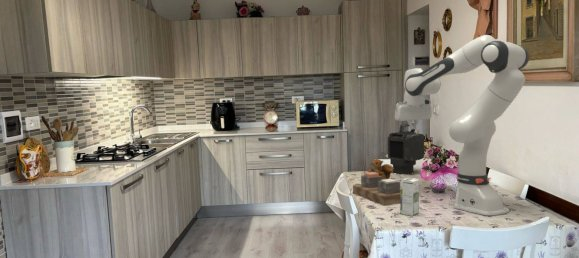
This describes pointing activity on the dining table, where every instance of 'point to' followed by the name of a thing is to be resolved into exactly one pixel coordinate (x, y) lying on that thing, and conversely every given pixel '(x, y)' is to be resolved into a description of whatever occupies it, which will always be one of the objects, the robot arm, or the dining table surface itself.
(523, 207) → the dining table surface
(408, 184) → the syrup box
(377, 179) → the button board
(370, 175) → the reddish orange cube
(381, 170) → the stuffed squirrel
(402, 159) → the black device with handle
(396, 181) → the white cube
